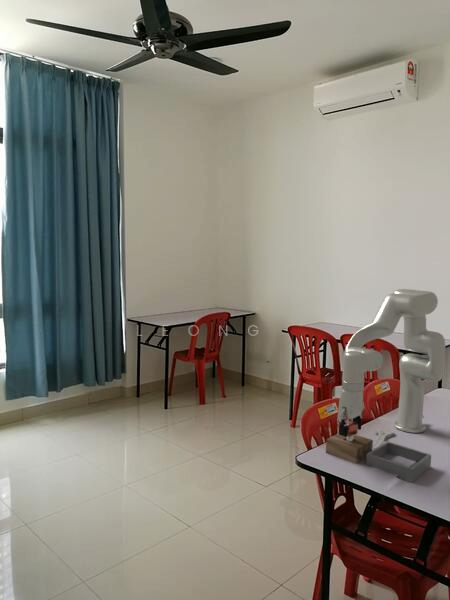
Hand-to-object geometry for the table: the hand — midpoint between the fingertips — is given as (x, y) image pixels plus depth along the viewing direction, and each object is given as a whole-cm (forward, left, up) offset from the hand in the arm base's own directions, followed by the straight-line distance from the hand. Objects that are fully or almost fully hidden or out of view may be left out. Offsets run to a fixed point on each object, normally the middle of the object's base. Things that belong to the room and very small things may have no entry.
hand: (350, 432), depth 173 cm
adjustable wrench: (-21, +2, -10) cm, 23 cm away
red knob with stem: (0, 0, -8) cm, 8 cm away
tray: (-5, +17, -9) cm, 19 cm away
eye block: (0, 0, -9) cm, 9 cm away
